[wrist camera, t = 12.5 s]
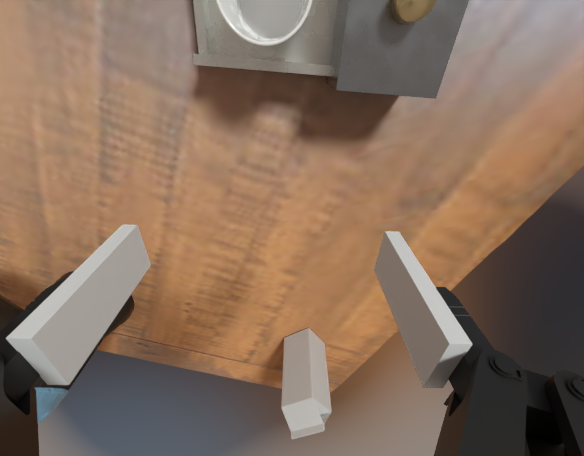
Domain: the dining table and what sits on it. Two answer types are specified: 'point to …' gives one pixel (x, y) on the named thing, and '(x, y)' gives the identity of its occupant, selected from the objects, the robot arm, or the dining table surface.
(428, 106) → the dining table surface
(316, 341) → the white milk carton
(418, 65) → the grey cabinet
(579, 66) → the dining table surface
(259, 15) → the white cup
